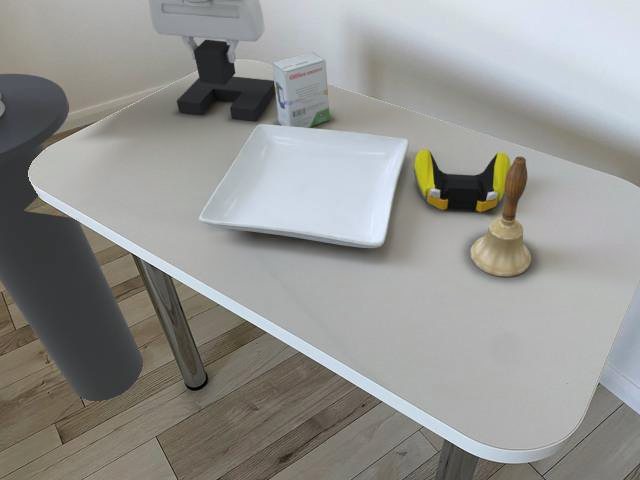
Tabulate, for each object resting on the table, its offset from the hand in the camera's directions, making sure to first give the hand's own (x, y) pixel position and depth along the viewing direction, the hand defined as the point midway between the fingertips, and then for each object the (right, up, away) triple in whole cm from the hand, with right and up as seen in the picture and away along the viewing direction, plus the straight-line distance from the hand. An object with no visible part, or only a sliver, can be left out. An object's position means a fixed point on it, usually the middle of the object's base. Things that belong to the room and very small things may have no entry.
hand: (214, 60), depth 101 cm
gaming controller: (+42, -26, -14) cm, 52 cm away
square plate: (+19, -26, -13) cm, 35 cm away
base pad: (+1, -5, +9) cm, 10 cm away
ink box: (+16, -11, +3) cm, 20 cm away
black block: (0, -2, +3) cm, 4 cm away
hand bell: (+46, -36, -24) cm, 63 cm away
